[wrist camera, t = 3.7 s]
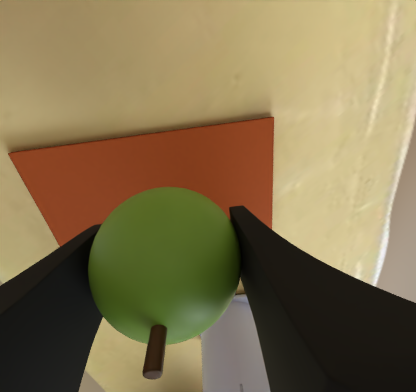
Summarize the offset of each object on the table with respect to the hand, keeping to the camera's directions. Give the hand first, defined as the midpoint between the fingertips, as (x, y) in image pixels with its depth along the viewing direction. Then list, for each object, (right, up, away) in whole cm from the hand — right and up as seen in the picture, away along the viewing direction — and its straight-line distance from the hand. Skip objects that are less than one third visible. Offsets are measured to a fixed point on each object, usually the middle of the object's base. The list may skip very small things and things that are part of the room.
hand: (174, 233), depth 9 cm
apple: (0, +1, +1) cm, 1 cm away
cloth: (-3, +1, +9) cm, 10 cm away
